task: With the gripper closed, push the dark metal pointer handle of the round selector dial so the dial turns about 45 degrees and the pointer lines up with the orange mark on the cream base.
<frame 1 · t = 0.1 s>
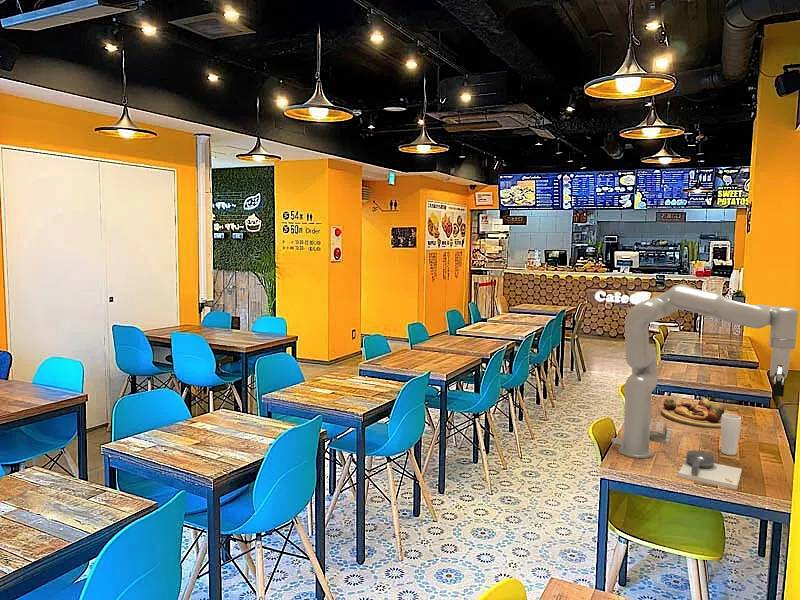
hand: (778, 392, 206), 31 cm above the table, tool pointing down, fingers open, 9 cm apart
dial base: (710, 474, 213), on the table
packaged product: (657, 437, 255), on the table
wooden plate with food: (697, 419, 283), on the table
selector dial: (698, 463, 215), point 4 cm above the table, hinge at 0.0°
drinking glass: (728, 453, 236), on the table
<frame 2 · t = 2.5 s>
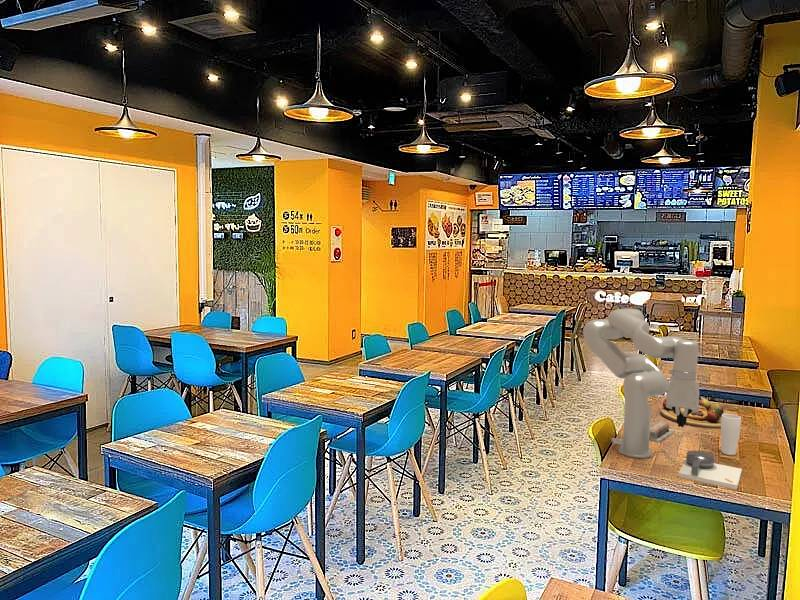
hand: (681, 426, 214), 17 cm above the table, tool pointing down, fingers closed
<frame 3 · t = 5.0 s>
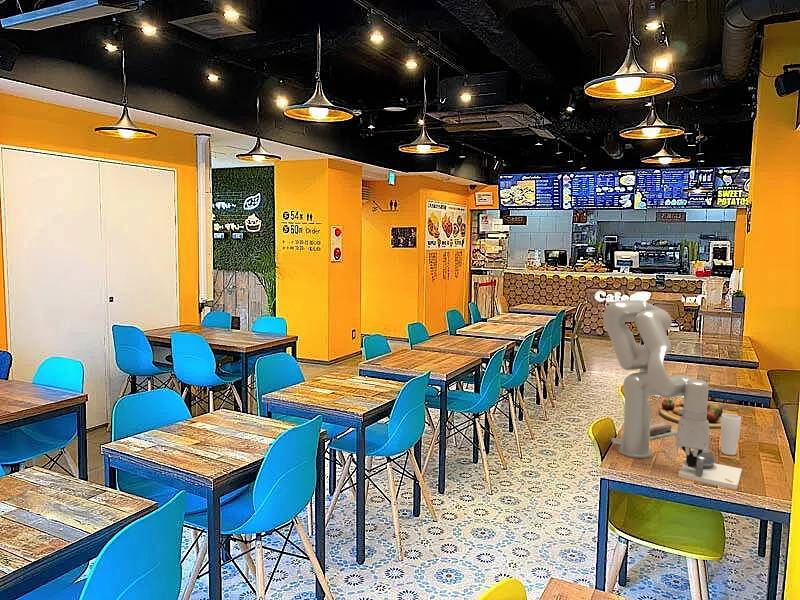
hand: (691, 465, 213), 3 cm above the table, tool pointing down, fingers closed
selector dial: (699, 463, 215), point 4 cm above the table, hinge at 6.4°, touching gripper
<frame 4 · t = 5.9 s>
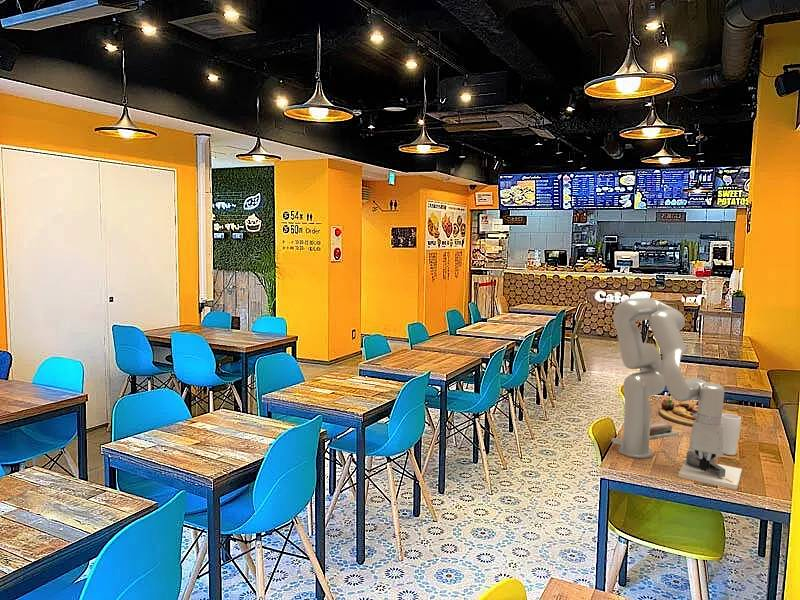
hand: (703, 469, 211), 3 cm above the table, tool pointing down, fingers closed
selector dial: (707, 463, 214), point 4 cm above the table, hinge at 38.9°, touching gripper
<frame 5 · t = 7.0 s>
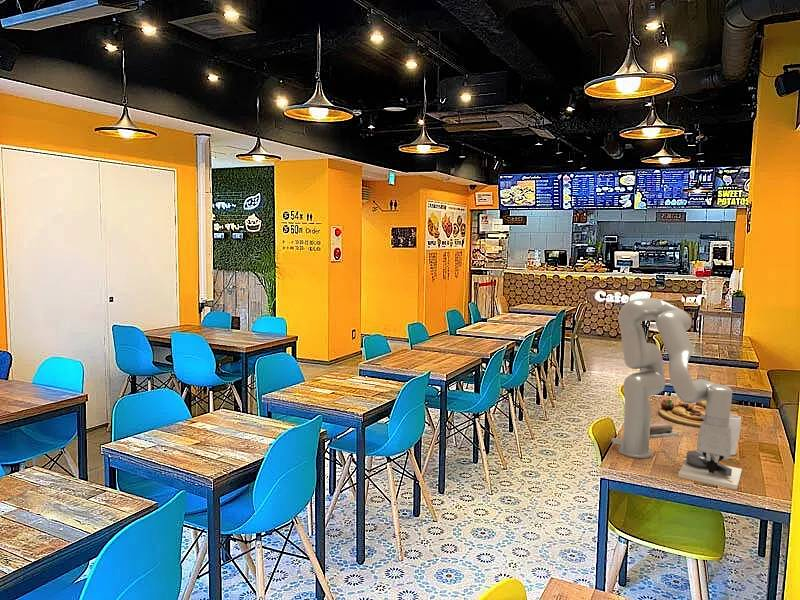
hand: (711, 471, 209), 3 cm above the table, tool pointing down, fingers closed
selector dial: (709, 463, 214), point 4 cm above the table, hinge at 50.5°, touching gripper
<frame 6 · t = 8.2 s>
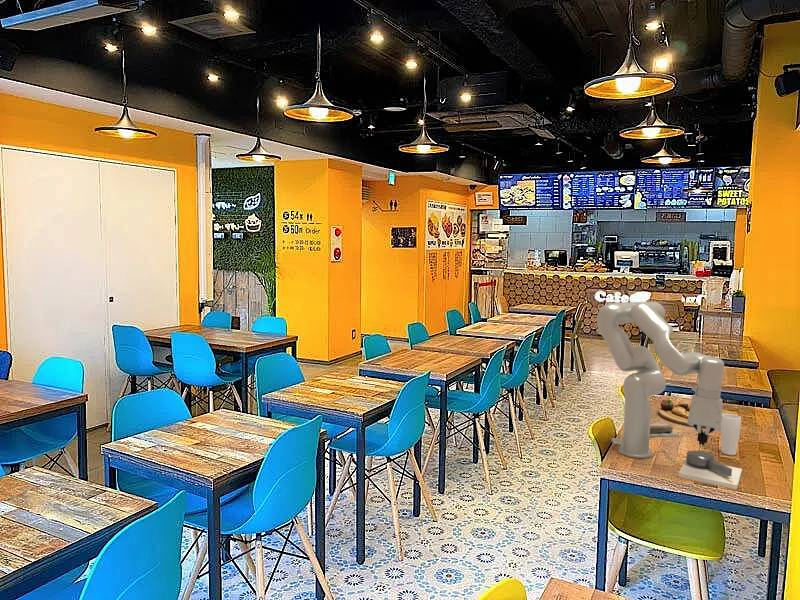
hand: (701, 443, 211), 12 cm above the table, tool pointing down, fingers closed
selector dial: (709, 463, 214), point 4 cm above the table, hinge at 51.0°
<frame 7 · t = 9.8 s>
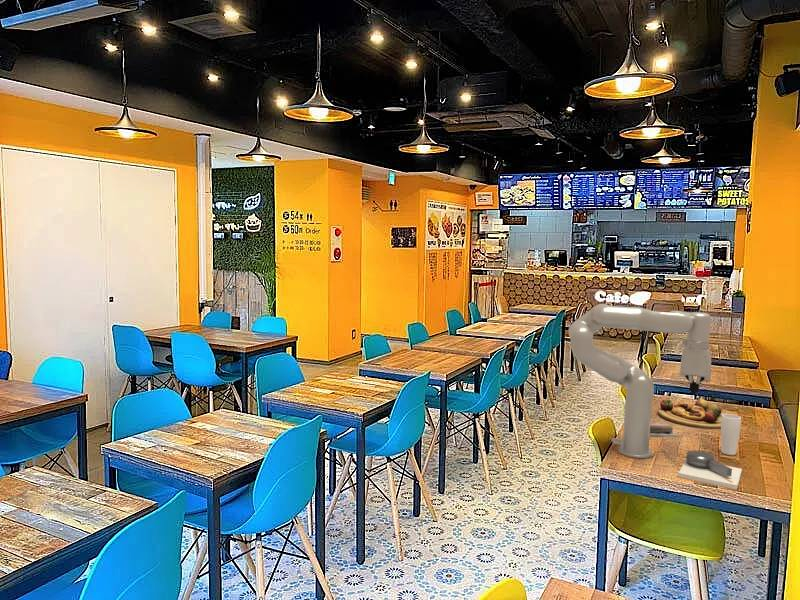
hand: (693, 393, 228), 25 cm above the table, tool pointing down, fingers closed
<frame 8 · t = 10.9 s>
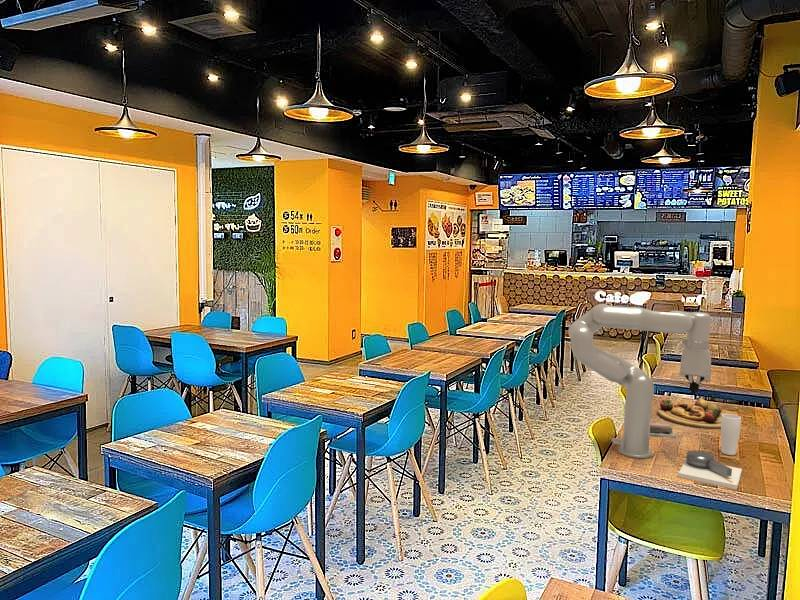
hand: (693, 392, 228), 25 cm above the table, tool pointing down, fingers closed
at the end: selector dial at +51° (first picture: +0°) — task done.
